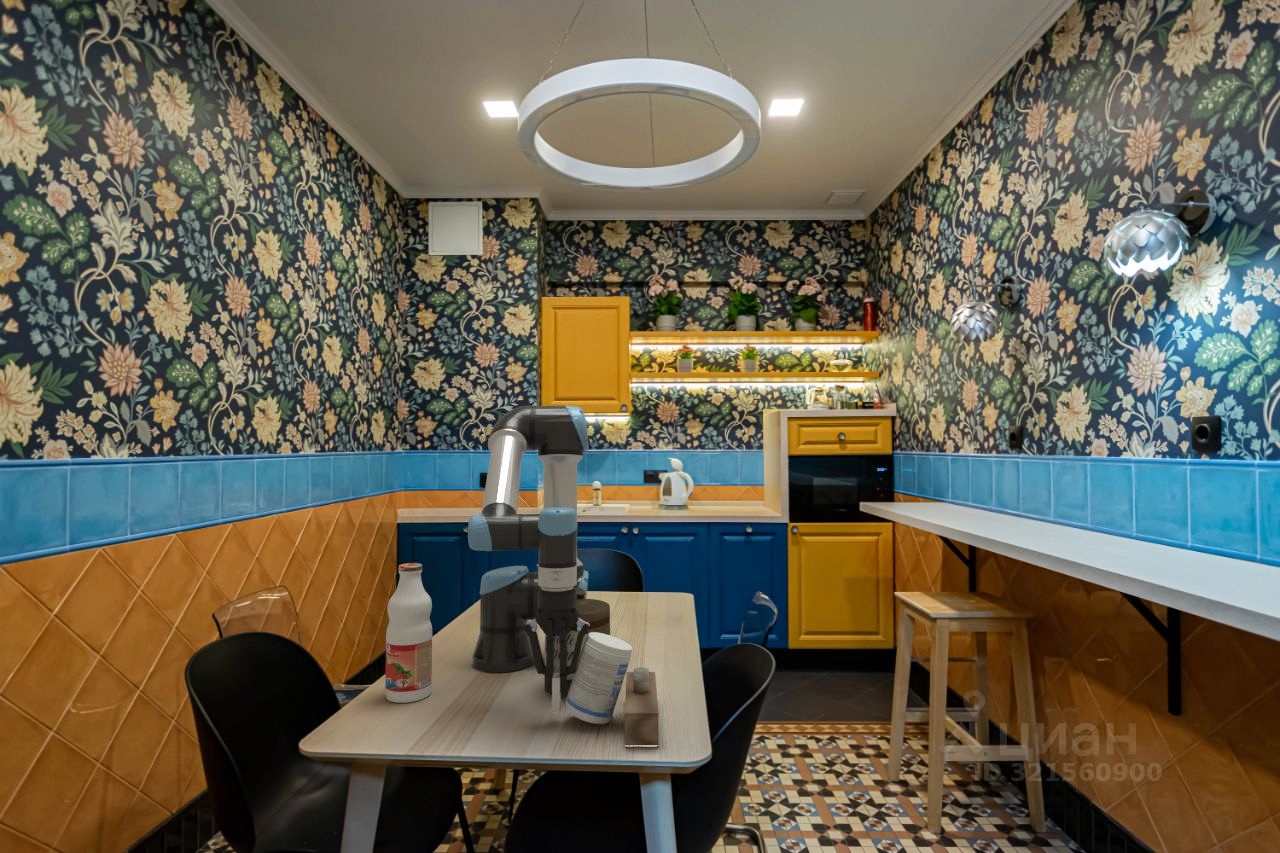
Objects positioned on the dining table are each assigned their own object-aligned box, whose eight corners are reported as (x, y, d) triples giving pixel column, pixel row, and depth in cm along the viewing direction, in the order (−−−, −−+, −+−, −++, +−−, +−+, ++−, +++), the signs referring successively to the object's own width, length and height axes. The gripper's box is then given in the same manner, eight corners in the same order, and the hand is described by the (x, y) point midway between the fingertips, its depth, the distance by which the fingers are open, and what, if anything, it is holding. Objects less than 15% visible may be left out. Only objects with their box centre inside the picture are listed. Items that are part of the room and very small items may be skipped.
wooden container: (532, 694, 142) (532, 592, 143) (562, 673, 156) (563, 580, 157) (594, 703, 137) (595, 597, 138) (620, 680, 151) (621, 584, 152)
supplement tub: (612, 731, 123) (636, 654, 124) (563, 717, 122) (589, 640, 123) (607, 711, 133) (630, 640, 134) (562, 698, 132) (586, 627, 133)
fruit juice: (437, 697, 140) (439, 565, 141) (391, 707, 134) (393, 570, 136) (423, 685, 148) (425, 559, 149) (380, 693, 142) (382, 563, 143)
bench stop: (624, 747, 116) (624, 690, 117) (626, 700, 138) (626, 652, 139) (658, 747, 116) (658, 690, 117) (655, 700, 138) (655, 652, 139)
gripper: (520, 591, 124) (519, 717, 123) (589, 591, 125) (589, 717, 124) (526, 583, 132) (525, 702, 131) (591, 583, 132) (591, 702, 131)
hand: (556, 709), depth 127 cm, fingers closed
